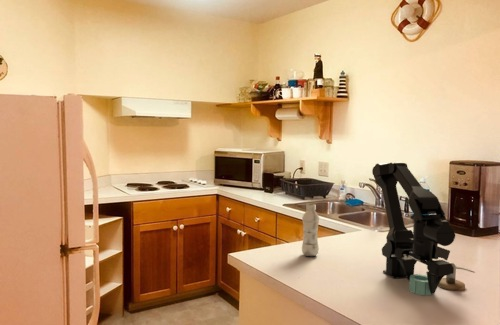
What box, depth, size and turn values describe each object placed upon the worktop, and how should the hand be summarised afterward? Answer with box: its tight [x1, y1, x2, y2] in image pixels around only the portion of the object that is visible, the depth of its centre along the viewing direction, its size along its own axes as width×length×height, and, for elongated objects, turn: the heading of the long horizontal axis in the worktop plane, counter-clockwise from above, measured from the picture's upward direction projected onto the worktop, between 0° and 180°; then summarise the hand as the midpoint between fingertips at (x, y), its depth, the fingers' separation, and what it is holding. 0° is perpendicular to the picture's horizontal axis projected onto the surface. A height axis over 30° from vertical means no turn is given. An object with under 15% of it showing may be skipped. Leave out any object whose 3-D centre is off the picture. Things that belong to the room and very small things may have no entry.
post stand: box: [438, 262, 466, 292], centre depth 123 cm, size 8×8×7 cm
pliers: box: [433, 258, 475, 273], centre depth 141 cm, size 10×2×15 cm
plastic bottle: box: [301, 203, 320, 257], centre depth 152 cm, size 6×7×20 cm
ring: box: [408, 273, 433, 296], centre depth 118 cm, size 6×6×4 cm
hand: (421, 287), depth 118 cm, fingers open, 9 cm apart
